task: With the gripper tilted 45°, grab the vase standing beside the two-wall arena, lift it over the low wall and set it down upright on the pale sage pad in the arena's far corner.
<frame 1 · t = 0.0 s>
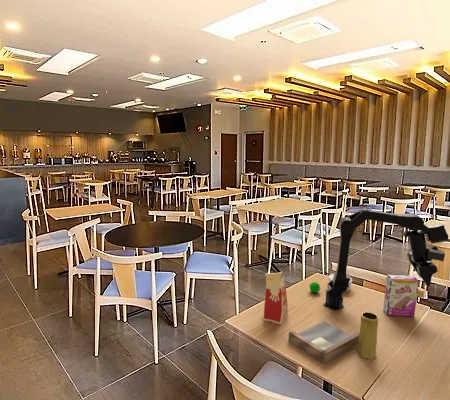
hand: (424, 281, 136), 15 cm above the table, tool pointing down, fingers open, 9 cm apart
vase: (366, 354, 114), on the table
green pom pom ball: (314, 292, 161), on the table
arena: (324, 341, 121), on the table
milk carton: (274, 317, 138), on the table
ramekin: (339, 288, 166), on the table
candy bar box: (398, 314, 141), on the table
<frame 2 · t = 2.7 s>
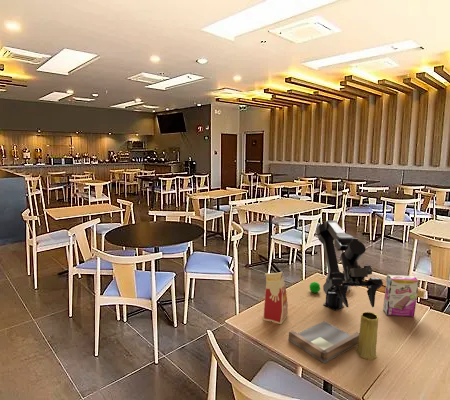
hand: (360, 307, 119), 13 cm above the table, tool tilted 45°, fingers open, 9 cm apart
nothing on the table moved.
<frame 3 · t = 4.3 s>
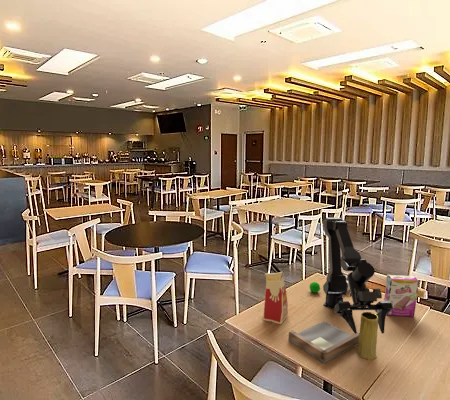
hand: (369, 333, 112), 8 cm above the table, tool tilted 45°, fingers open, 9 cm apart
nothing on the table moved.
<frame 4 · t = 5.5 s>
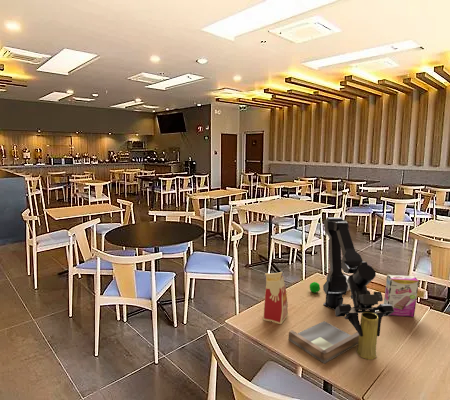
hand: (370, 336, 111), 8 cm above the table, tool tilted 45°, fingers closed on vase, 5 cm apart
vase: (366, 354, 114), on the table, touching gripper
everything else where it was.
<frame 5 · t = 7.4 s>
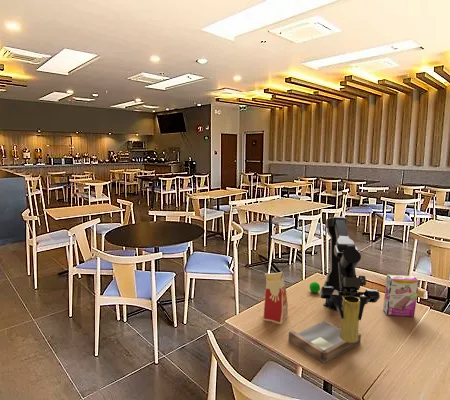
hand: (351, 319, 111), 13 cm above the table, tool tilted 45°, fingers closed on vase, 5 cm apart
vase: (348, 338, 114), point 5 cm above the table, touching gripper
everything else where it was.
when the fingers open (10 cm above the table, at t = 9.6 s): vase drops 1 cm, resting on arena.
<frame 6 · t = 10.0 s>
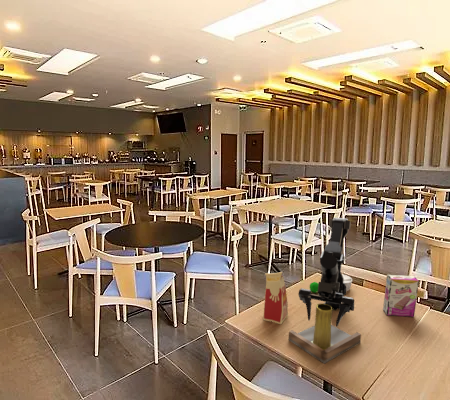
hand: (322, 323, 114), 10 cm above the table, tool tilted 45°, fingers open, 9 cm apart
vase: (321, 345, 117), point 1 cm above the table, touching arena
everything else where it was.
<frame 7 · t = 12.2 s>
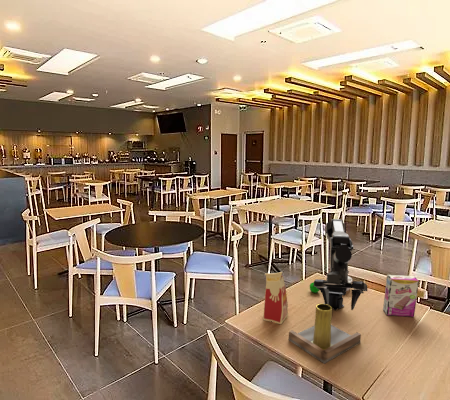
hand: (339, 308, 124), 10 cm above the table, tool tilted 30°, fingers open, 9 cm apart
nothing on the table moved.
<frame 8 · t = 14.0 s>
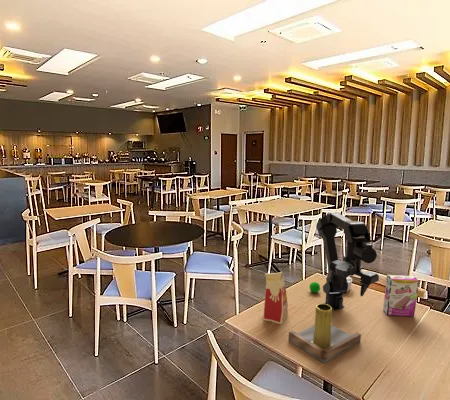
hand: (351, 291, 132), 13 cm above the table, tool pointing down, fingers open, 9 cm apart
nothing on the table moved.
at the end: vase 0.2 cm from the target spot, point 1.0 cm above the table; vase tilted 0°; the gripper is holding nothing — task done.
